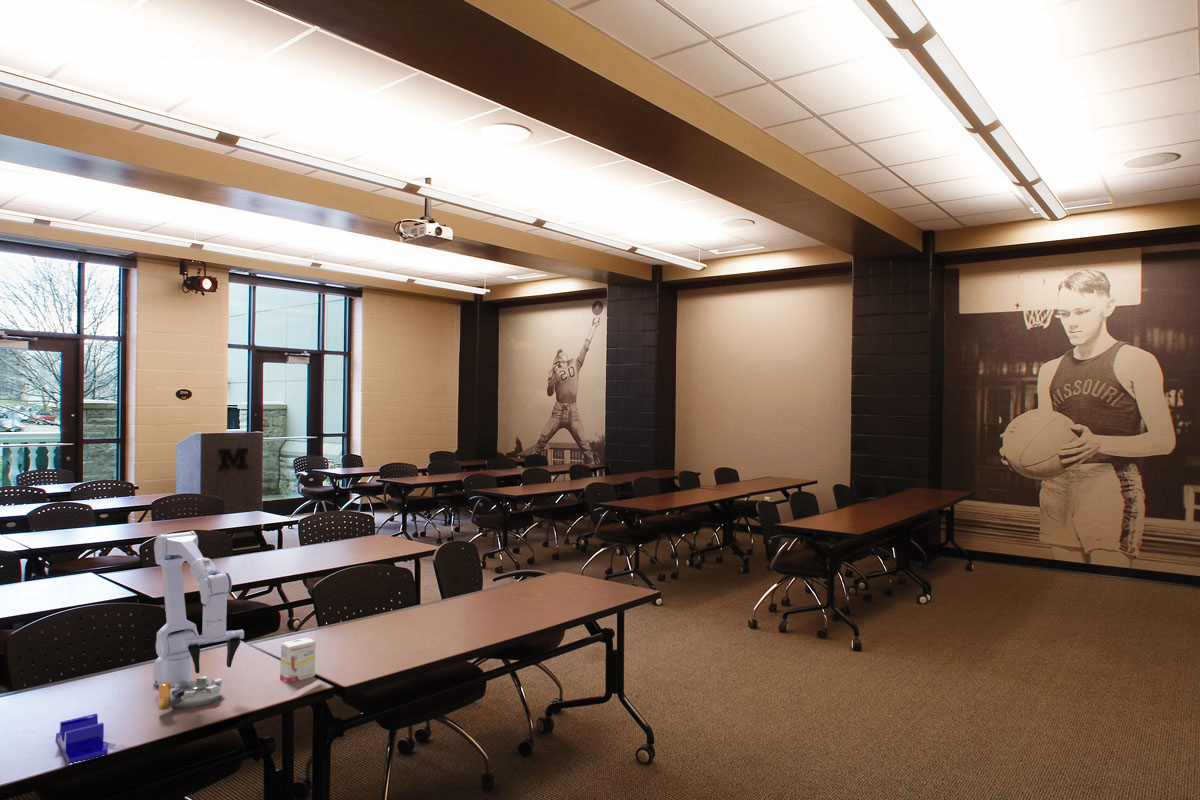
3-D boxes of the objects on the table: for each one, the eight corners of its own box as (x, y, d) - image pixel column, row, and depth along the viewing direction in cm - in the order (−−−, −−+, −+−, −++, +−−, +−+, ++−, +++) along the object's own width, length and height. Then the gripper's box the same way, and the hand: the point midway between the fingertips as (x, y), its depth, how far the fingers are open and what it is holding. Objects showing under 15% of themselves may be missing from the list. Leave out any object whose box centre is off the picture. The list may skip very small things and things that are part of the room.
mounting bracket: (107, 756, 165) (108, 730, 165) (69, 767, 160) (69, 740, 160) (91, 731, 178) (92, 707, 178) (55, 740, 173) (56, 715, 173)
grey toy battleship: (195, 688, 202) (196, 661, 202) (231, 693, 198) (231, 666, 199) (141, 712, 185) (141, 683, 185) (178, 718, 182) (179, 689, 182)
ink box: (286, 688, 206) (287, 646, 207) (279, 683, 210) (280, 643, 210) (315, 680, 213) (316, 640, 213) (307, 676, 216) (308, 636, 216)
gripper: (186, 626, 186) (185, 679, 186) (247, 617, 195) (245, 667, 195) (182, 620, 192) (180, 671, 192) (241, 611, 201) (239, 660, 201)
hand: (213, 669), depth 194 cm, fingers open, 7 cm apart
